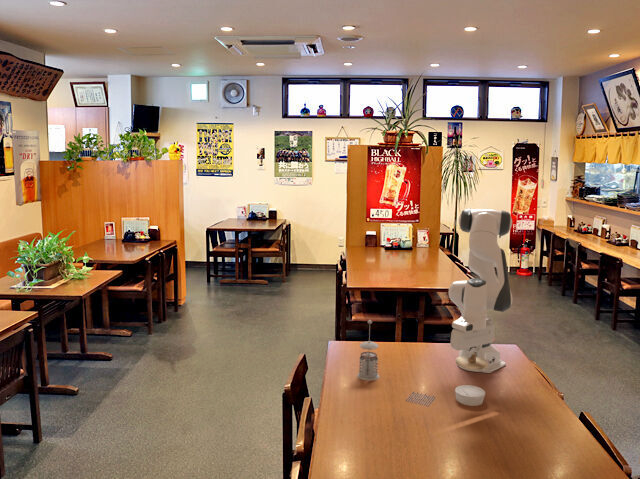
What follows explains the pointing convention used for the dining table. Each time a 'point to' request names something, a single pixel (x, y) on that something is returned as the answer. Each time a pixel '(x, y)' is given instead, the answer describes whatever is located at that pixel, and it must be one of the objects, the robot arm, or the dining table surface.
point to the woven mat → (421, 399)
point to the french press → (368, 361)
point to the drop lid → (472, 362)
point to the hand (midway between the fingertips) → (472, 356)
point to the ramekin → (469, 395)
